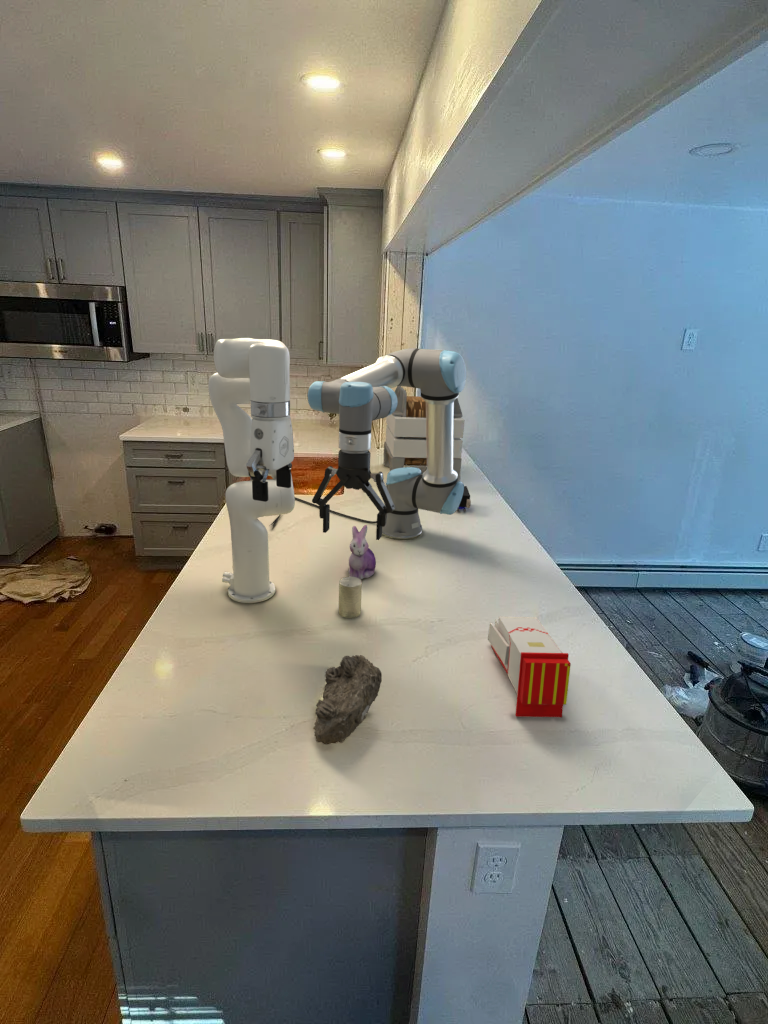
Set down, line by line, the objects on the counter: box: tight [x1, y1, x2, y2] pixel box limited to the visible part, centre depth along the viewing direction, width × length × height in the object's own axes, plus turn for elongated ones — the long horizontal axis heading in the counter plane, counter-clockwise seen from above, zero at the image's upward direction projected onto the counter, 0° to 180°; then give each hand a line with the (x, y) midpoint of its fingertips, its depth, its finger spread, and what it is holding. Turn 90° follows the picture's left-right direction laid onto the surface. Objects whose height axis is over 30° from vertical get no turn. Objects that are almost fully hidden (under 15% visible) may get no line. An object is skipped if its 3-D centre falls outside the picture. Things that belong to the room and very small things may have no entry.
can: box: [338, 576, 363, 619], centre depth 146 cm, size 6×6×9 cm
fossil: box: [312, 654, 383, 746], centre depth 110 cm, size 22×10×15 cm
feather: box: [270, 515, 281, 529], centre depth 210 cm, size 2×28×2 cm
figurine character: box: [456, 485, 472, 513], centre depth 228 cm, size 7×8×15 cm
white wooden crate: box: [383, 386, 465, 481], centre depth 268 cm, size 34×33×41 cm
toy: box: [487, 616, 572, 718], centre depth 123 cm, size 12×13×30 cm
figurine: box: [347, 524, 377, 580], centre depth 166 cm, size 9×10×15 cm
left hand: (272, 493), depth 116 cm, fingers open, 9 cm apart
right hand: (352, 534), depth 140 cm, fingers open, 13 cm apart
